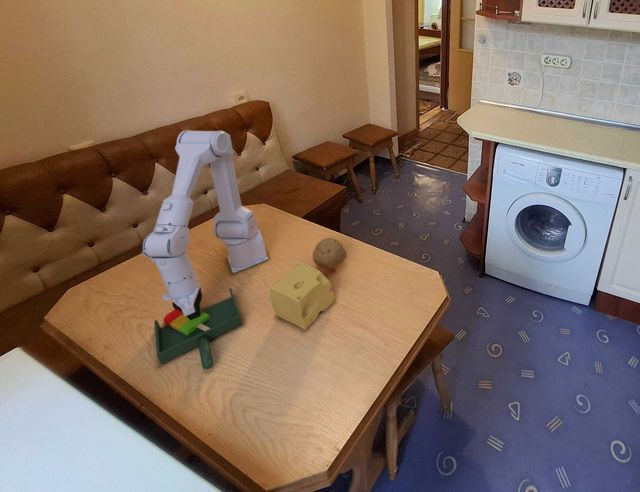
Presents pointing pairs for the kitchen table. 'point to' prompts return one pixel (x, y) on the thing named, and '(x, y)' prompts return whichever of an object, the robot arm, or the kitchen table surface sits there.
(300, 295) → the cheese
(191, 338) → the dustpan
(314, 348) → the kitchen table surface
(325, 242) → the natural sponge
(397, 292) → the kitchen table surface
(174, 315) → the popsicle
